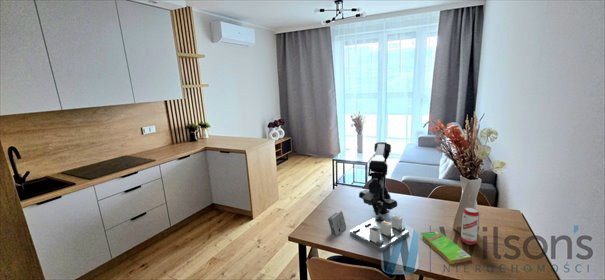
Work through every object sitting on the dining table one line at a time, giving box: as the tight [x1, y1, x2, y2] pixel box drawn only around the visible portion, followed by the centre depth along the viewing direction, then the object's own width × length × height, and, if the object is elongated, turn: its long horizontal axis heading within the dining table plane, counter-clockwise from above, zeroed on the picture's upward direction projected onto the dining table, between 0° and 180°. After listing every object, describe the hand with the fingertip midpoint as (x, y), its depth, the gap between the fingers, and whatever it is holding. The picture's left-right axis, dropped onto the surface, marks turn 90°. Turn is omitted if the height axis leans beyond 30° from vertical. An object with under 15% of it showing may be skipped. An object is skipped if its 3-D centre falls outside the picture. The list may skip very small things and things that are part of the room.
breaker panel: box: [349, 216, 410, 253], centre depth 133 cm, size 21×19×3 cm
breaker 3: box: [391, 214, 403, 230], centre depth 134 cm, size 3×4×6 cm, turn 36°
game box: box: [420, 230, 472, 265], centre depth 121 cm, size 3×10×20 cm
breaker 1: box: [369, 227, 380, 243], centre depth 124 cm, size 3×4×6 cm, turn 36°
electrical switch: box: [327, 210, 347, 236], centre depth 138 cm, size 9×5×9 cm, turn 141°
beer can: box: [460, 206, 480, 245], centre depth 123 cm, size 6×6×16 cm
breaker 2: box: [381, 220, 392, 236], centre depth 129 cm, size 3×4×6 cm, turn 36°
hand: (377, 215), depth 133 cm, fingers closed
